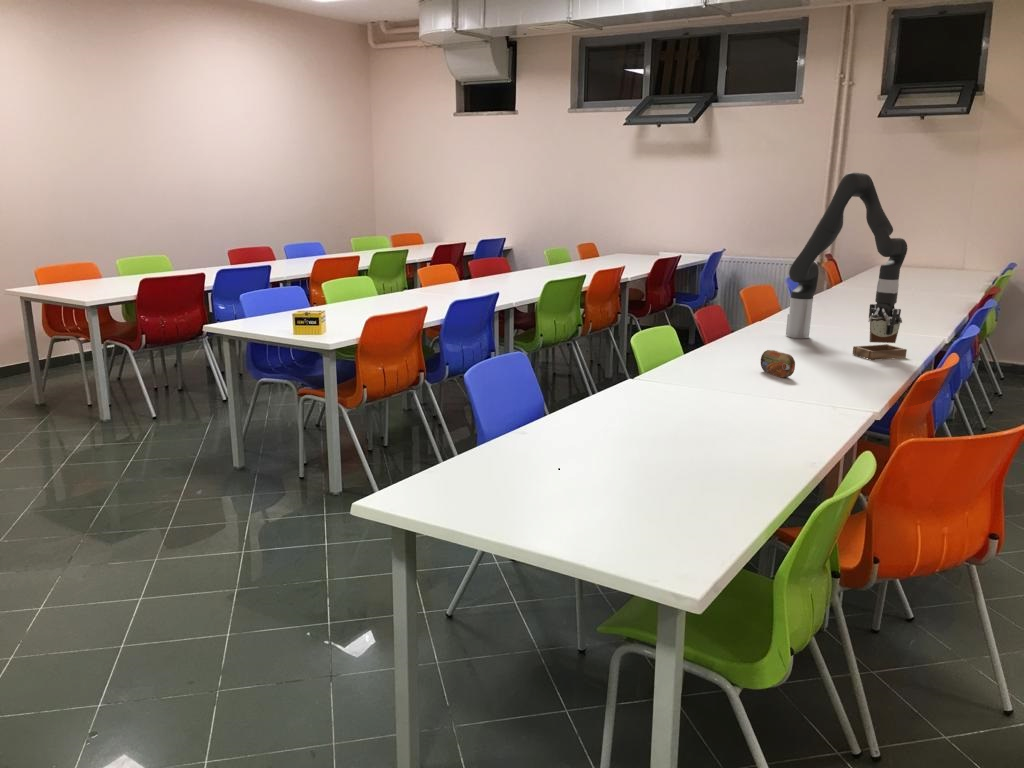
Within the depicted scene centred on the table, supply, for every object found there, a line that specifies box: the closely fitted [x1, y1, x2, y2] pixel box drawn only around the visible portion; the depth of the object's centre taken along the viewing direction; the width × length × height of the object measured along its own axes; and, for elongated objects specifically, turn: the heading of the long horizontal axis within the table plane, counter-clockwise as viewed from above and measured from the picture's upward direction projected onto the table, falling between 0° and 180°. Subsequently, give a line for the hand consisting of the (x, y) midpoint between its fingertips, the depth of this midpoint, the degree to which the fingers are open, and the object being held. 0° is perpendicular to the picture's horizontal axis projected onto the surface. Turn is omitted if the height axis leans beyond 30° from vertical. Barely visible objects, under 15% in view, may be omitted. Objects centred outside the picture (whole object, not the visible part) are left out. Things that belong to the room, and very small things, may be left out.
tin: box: [760, 349, 796, 378], centre depth 280 cm, size 15×3×8 cm, turn 23°
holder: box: [852, 343, 908, 361], centre depth 312 cm, size 10×16×3 cm, turn 108°
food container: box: [867, 314, 903, 344], centre depth 310 cm, size 12×6×10 cm, turn 85°
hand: (881, 332), depth 310 cm, fingers closed on food container, 7 cm apart
